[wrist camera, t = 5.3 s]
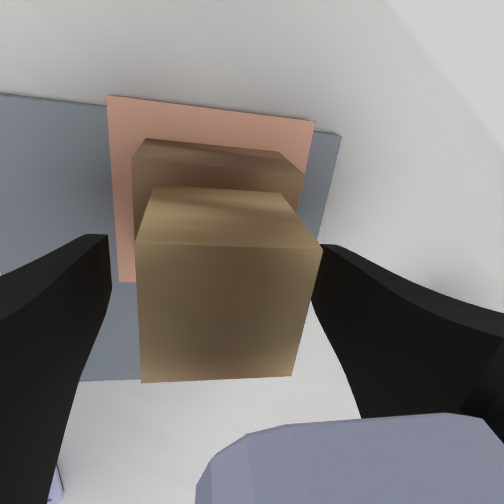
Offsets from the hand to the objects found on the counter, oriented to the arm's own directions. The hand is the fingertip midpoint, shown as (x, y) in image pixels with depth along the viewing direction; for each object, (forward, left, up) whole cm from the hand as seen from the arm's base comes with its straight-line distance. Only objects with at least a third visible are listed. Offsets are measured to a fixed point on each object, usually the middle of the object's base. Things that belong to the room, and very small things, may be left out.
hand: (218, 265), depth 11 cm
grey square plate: (-2, -4, -6) cm, 8 cm away
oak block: (0, 0, -2) cm, 2 cm away
